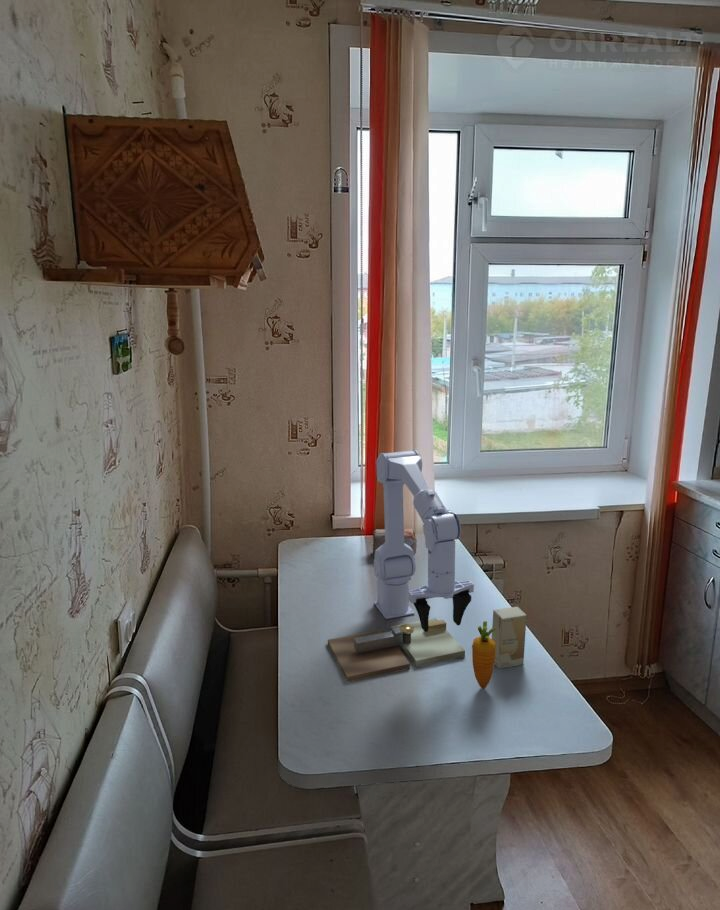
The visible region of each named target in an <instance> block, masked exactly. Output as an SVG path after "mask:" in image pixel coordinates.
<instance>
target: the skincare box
mask: <svg viewBox="0 0 720 910" xmlns="http://www.w3.org/2000/svg"><path fill="white" fill-rule="evenodd" d="M491 625H492V627H491V629H492V628H496V630H495V631H493V632H492V633H491V639H492V640H494V641H495V643H496V652H495V663H494V665H496V667H498V669H503V668H509V667H515V666H521V665H524V661H525V659H524V658H525V645H526V643H525V642H526V630H527V629H526V627H527V614H526V613H525V612H524V611H523V610H522V609H521V608H520V607H519V606H512V607H504V608H499V609H493V611H492V624H491Z"/></svg>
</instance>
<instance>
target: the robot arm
mask: <svg viewBox="0 0 720 910" xmlns="http://www.w3.org/2000/svg"><path fill="white" fill-rule="evenodd" d="M375 462H376V478H377V482H378V483H380V484H382V486H383V510H384V511H383V515H384V517H383V519H384V529H385V543H384V544H383V545H381V546H380V547H379V548H378V549H377V550H376V551H375V557H374V559H373V571H374V576H375V578H376V579H377V581H376V585H377V586H376V587H377V588H376V589H377V595H376V596H377V600H376V601H373V603H374V605H375V606H376V608H377V609H378V610H379V612H380V613H381V614H382V616H383V617H384V618H385V619H386V620H388V619H394V618H399V617H405V616H411V615H415V610H416V612H417V615H418V618H419V621H420V622H421V628H422V629H423V630H424V631H425V632H427V631H428V628H429V625H428V619H430V618H429V617H430V610H431V606H430V605H429V603H428V600H429V599H433V598H443V599H446V600H448V599H452V620H453V623H455V625H456V626H460V625H461V622H462V620H463V616H464V615H465V614H464V613H465V611H466V609H467V607H468V605H469V604H470V603H471V602H472V594H471V593H474V587H475V586H474V585H475V584H474V583H473V582H472V581H471V580H460V581H459V580H456V540H459V539H460V538H461V536H462V535H461V534H462V527H461V521H460V518H459V517H458V515H457V513H456V512H455V511H452V510H451V509H447V508H446V506H445V505H444V503H443V501H442V500H441V498H440V496H439V495H438V493H437V491H436V490H433V489H429V487H428V484H427V482H426V479H425V477H424V475H423V474H422V470H423V459H422V455H421V453H420V452H419V451H418V450H417V449H412V450H404V451H395V452H385V453H384V452H380V454H379V455H378V457H376V461H375ZM404 485H405V486H406V487H407V488H408V490H409V491H410V493H411V495H412V496H413V497H414V498H413V500H412V504H413V507H414V508H415V510H416V512H417V514H418V516H419V517H420V519H421V521H422V523H423V525H422V528H423V535H424V539H425V541H424V542H425V547H426V548H427V584H424V585H423V586H420V587H417V588H415V589H411V590H410V589H409V588H410V587H409V584H410V581H411V580H412V577H413V576H414V575H415V573H416V570H417V568H416V567H417V565H416V561H415V555H414V552H413V550H412V548H411V547H410V546H408V545H407V544H405V543H404V529H405V523H404V522H405V516H404V514H405V513H404V512H405V510H404ZM410 603H411V604H413V606H414V607H415V610H413V609H412V608H411V606H410Z"/></svg>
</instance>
